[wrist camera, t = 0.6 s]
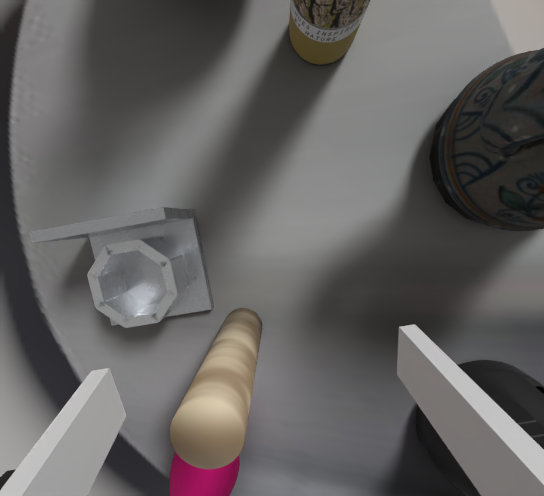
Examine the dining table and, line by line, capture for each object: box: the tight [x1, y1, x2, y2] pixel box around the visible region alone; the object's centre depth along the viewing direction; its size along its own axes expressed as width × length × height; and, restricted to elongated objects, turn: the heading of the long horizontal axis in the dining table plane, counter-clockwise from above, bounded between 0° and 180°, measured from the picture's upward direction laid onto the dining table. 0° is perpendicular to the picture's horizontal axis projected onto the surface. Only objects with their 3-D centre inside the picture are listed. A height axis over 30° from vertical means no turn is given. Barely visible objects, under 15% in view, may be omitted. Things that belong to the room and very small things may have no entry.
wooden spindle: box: [170, 308, 262, 469], centre depth 24 cm, size 4×4×16 cm
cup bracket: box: [29, 207, 214, 328], centre depth 27 cm, size 12×12×8 cm
